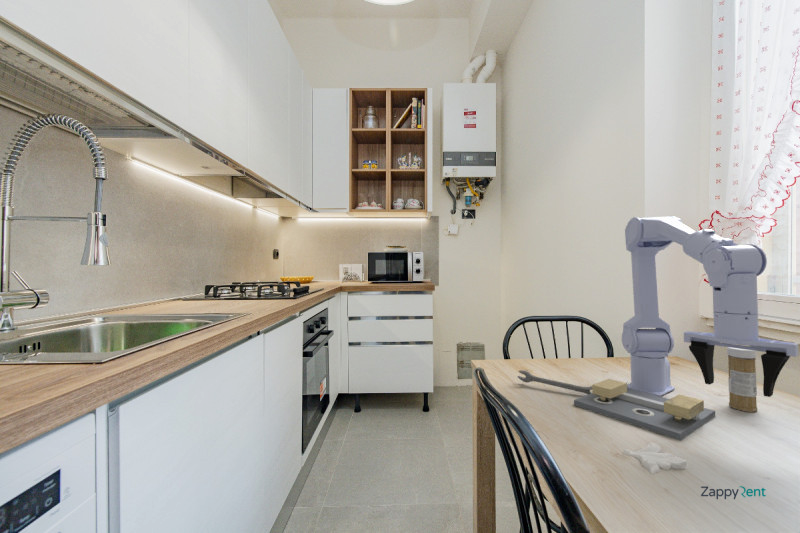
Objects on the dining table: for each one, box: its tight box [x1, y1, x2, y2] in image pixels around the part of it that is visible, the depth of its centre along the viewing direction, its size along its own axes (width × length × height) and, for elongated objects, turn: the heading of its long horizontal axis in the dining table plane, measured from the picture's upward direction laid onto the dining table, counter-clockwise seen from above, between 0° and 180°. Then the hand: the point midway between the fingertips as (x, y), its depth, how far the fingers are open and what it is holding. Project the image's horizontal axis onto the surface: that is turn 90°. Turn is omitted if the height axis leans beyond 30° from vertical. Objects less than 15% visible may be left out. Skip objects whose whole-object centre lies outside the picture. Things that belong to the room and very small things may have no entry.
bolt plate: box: [573, 378, 716, 441], centre depth 75 cm, size 18×20×4 cm
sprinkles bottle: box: [726, 347, 758, 413], centre depth 76 cm, size 5×5×14 cm
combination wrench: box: [517, 369, 592, 395], centre depth 89 cm, size 4×1×20 cm
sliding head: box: [664, 394, 705, 422], centre depth 68 cm, size 8×4×3 cm, turn 123°
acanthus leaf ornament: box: [622, 442, 687, 475], centre depth 56 cm, size 8×7×2 cm
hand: (737, 388), depth 61 cm, fingers open, 7 cm apart
